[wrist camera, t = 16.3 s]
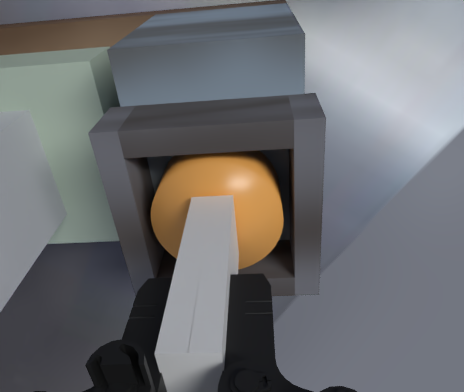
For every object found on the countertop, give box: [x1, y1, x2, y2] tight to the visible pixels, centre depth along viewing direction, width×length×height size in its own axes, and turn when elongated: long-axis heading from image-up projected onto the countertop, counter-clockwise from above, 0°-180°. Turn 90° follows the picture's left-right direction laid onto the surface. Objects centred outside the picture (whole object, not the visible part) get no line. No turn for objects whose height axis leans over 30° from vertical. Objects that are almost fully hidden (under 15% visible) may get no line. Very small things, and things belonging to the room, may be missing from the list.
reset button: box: [151, 150, 284, 270], centre depth 16 cm, size 5×5×2 cm
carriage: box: [0, 46, 120, 312], centre depth 19 cm, size 10×9×15 cm
